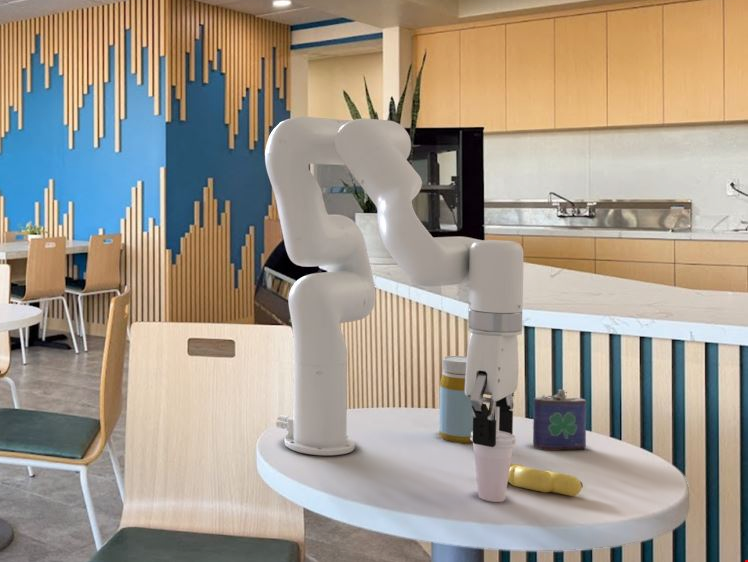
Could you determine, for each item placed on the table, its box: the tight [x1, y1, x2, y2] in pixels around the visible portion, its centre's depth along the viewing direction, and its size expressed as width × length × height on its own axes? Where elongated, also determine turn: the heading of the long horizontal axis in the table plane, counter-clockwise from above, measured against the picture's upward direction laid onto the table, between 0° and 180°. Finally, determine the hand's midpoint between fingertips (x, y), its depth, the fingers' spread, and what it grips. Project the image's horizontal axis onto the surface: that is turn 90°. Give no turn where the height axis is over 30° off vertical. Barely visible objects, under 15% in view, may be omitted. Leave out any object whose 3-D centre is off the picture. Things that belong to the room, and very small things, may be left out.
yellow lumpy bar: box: [508, 462, 584, 497], centre depth 136 cm, size 14×4×3 cm, turn 48°
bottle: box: [438, 355, 473, 444], centre depth 163 cm, size 7×7×15 cm
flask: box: [532, 388, 587, 451], centre depth 157 cm, size 9×3×11 cm, turn 88°
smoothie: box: [470, 407, 517, 503], centre depth 131 cm, size 6×6×14 cm
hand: (492, 438), depth 131 cm, fingers closed on smoothie, 6 cm apart
